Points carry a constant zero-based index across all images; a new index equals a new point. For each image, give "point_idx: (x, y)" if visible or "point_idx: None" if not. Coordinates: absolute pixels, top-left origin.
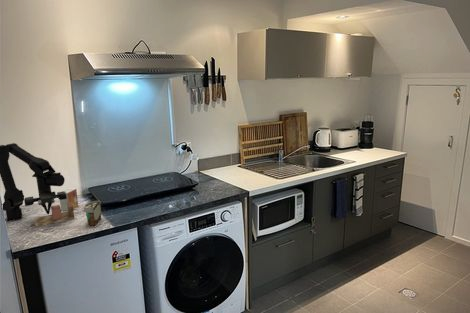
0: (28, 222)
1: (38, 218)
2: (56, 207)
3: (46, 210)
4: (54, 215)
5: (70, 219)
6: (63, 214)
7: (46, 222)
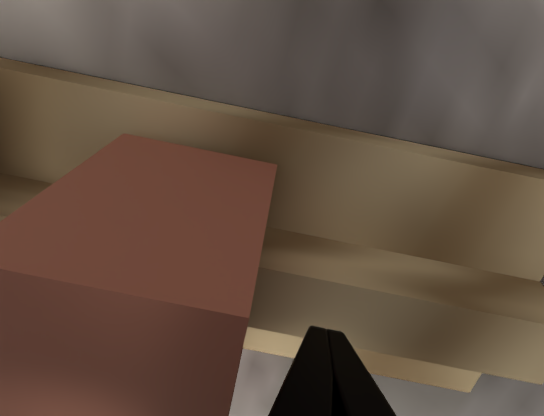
0: (522, 395)
1: (504, 323)
2: (81, 400)
3: (372, 414)
4: (230, 198)
5: (3, 58)
6: None
7: (400, 169)
